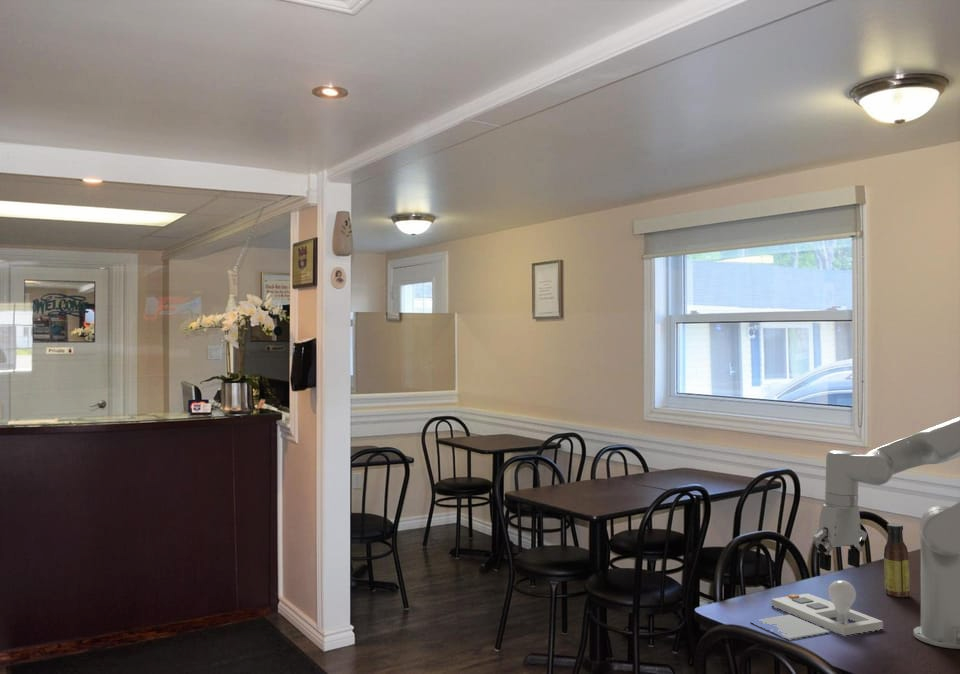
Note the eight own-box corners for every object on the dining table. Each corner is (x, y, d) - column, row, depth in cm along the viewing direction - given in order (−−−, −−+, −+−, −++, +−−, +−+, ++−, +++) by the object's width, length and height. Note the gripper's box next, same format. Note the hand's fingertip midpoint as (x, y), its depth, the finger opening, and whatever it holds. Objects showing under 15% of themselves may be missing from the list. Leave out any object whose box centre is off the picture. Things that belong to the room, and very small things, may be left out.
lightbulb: (832, 618, 203) (832, 575, 203) (859, 623, 199) (859, 580, 199) (825, 624, 198) (825, 580, 198) (852, 630, 194) (852, 585, 194)
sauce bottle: (904, 592, 225) (903, 522, 226) (913, 598, 219) (913, 527, 220) (880, 591, 226) (880, 521, 226) (889, 597, 220) (889, 526, 220)
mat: (829, 633, 192) (829, 631, 192) (788, 640, 187) (788, 638, 187) (789, 616, 204) (789, 614, 204) (750, 622, 199) (750, 620, 199)
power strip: (882, 629, 195) (882, 618, 195) (844, 636, 190) (844, 625, 190) (808, 600, 217) (808, 591, 217) (771, 606, 212) (771, 596, 212)
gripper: (854, 495, 206) (852, 561, 206) (803, 498, 199) (801, 566, 199) (878, 501, 199) (876, 569, 199) (827, 505, 192) (825, 575, 192)
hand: (839, 567), depth 199 cm, fingers open, 9 cm apart
